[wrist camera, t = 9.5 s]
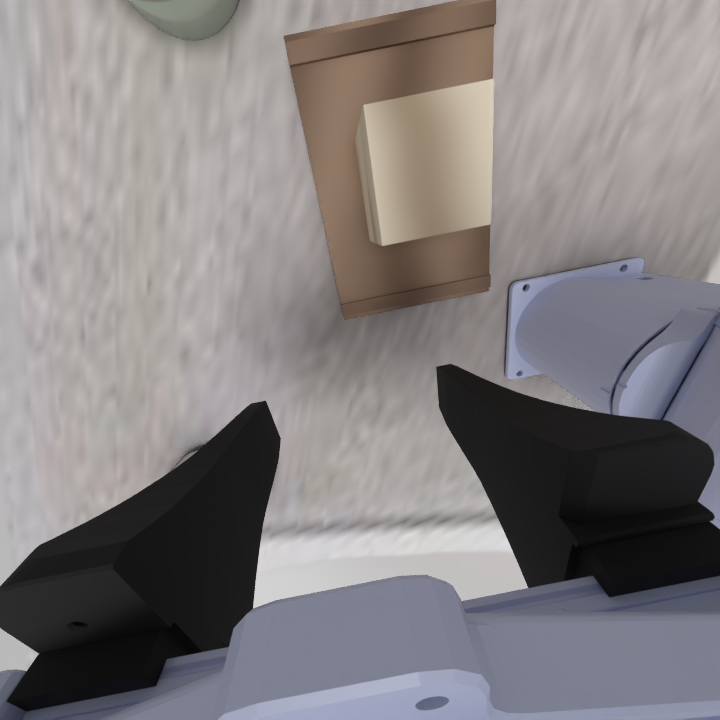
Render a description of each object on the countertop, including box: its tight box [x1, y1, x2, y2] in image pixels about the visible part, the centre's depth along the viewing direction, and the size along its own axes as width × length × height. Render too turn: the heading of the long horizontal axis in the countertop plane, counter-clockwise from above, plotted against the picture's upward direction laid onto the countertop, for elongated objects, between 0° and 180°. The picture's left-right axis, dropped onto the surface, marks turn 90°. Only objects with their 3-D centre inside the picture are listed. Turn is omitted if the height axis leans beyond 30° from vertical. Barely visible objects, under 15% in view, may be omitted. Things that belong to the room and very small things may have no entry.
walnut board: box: [284, 0, 496, 320], centre depth 17 cm, size 10×14×1 cm
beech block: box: [355, 79, 494, 246], centre depth 14 cm, size 5×5×5 cm
